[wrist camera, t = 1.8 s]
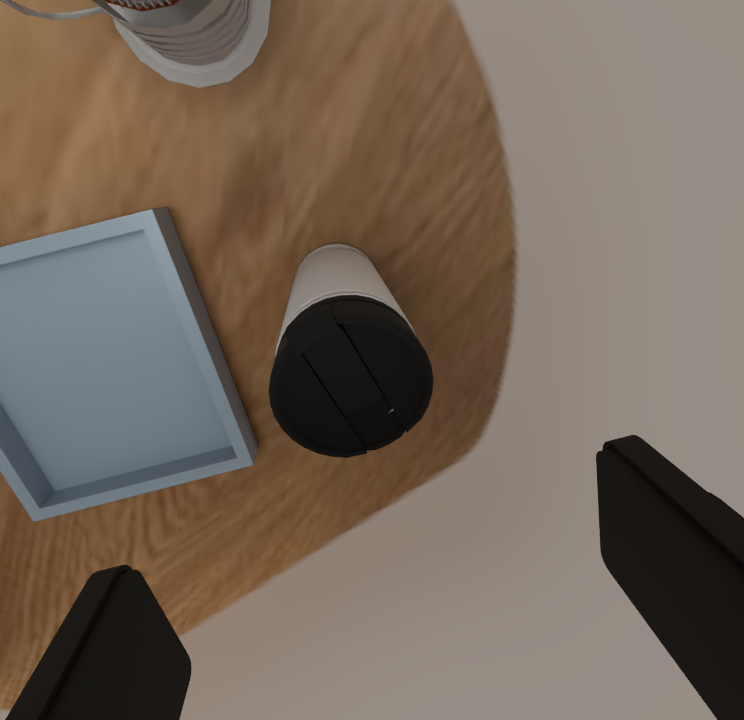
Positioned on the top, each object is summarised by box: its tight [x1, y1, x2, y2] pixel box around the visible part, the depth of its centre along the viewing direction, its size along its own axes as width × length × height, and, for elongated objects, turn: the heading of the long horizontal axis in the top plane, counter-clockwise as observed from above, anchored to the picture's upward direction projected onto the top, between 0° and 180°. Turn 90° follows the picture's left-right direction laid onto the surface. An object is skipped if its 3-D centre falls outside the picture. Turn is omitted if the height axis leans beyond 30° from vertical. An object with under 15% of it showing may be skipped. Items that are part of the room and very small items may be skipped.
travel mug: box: [269, 243, 433, 458], centre depth 26 cm, size 6×7×20 cm
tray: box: [0, 207, 258, 522], centre depth 34 cm, size 20×18×3 cm
